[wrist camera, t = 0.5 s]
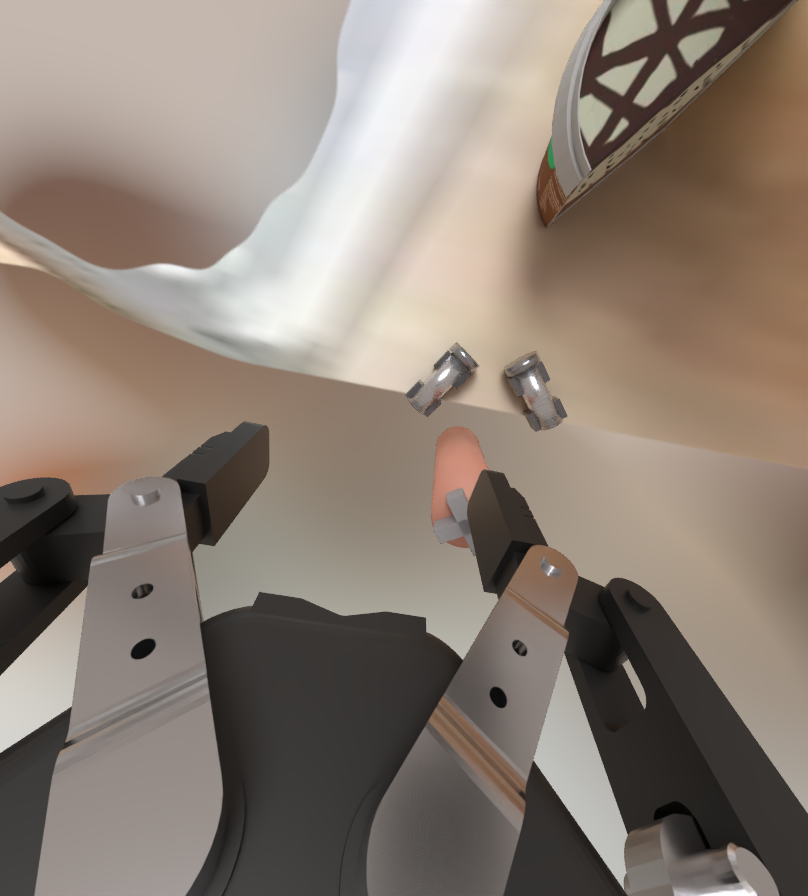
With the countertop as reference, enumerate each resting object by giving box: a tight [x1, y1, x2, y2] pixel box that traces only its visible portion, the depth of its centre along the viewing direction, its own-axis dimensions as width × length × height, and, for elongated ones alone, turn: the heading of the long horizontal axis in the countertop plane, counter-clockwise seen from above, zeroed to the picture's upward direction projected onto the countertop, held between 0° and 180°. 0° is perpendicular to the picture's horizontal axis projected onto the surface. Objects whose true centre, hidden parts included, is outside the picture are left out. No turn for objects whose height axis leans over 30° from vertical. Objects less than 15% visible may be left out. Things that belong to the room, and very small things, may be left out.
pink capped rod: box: [431, 427, 489, 556], centre depth 25 cm, size 4×4×15 cm
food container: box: [537, 0, 798, 228], centre depth 18 cm, size 12×6×10 cm, turn 128°
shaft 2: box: [504, 351, 567, 431], centre depth 28 cm, size 7×3×3 cm, turn 31°
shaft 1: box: [406, 342, 479, 417], centre depth 28 cm, size 7×3×3 cm, turn 136°
